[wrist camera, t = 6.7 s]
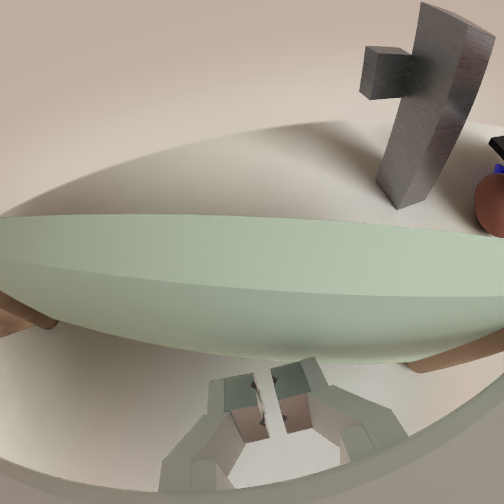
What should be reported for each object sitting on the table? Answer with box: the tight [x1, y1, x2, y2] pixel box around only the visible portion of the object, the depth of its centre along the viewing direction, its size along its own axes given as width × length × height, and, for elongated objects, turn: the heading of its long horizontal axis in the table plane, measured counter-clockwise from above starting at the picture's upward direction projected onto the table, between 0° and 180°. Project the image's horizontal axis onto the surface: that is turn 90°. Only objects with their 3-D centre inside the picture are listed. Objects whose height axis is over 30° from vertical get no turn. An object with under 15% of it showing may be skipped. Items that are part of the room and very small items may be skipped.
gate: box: [0, 214, 504, 373], centre depth 9 cm, size 24×2×12 cm, turn 84°
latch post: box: [359, 2, 496, 210], centre depth 13 cm, size 6×4×14 cm
